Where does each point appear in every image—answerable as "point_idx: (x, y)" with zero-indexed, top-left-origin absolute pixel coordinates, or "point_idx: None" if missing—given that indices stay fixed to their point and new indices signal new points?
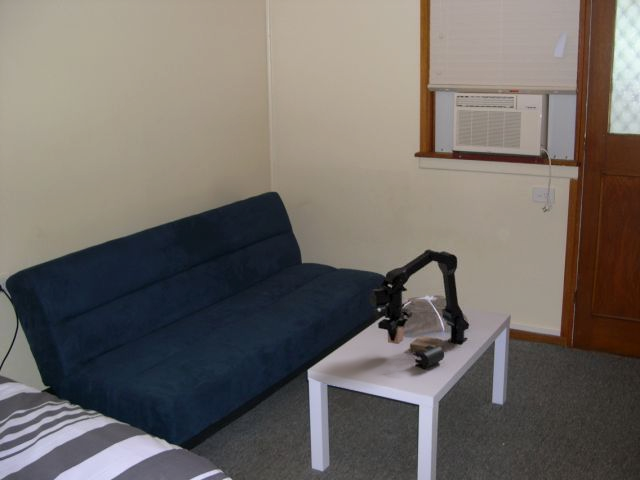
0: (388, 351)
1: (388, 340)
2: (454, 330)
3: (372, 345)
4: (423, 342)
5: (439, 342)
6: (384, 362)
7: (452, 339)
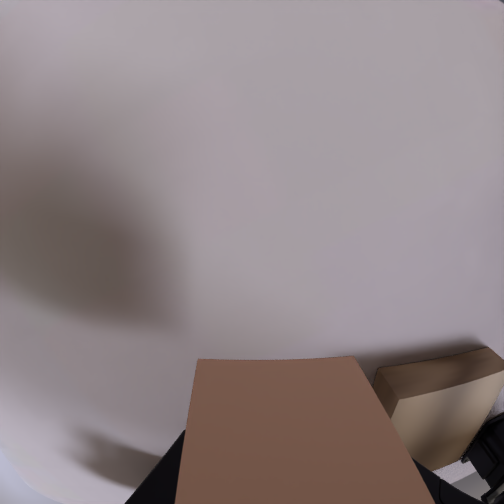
0: (310, 239)
1: (194, 384)
2: (496, 475)
3: (368, 59)
4: (426, 437)
5: (431, 470)
6: (93, 307)
7: (479, 449)
